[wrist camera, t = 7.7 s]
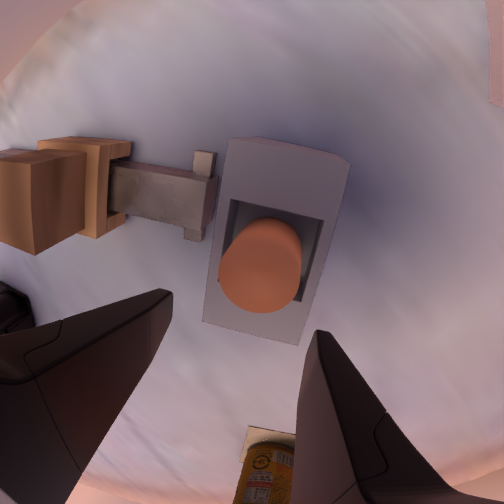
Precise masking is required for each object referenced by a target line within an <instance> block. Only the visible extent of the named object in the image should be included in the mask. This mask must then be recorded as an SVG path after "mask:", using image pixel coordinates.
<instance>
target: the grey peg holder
mask: <svg viewBox="0 0 504 504" xmlns="http://www.w3.org/2000/svg"><path fill="white" fill-rule="evenodd" d="M350 166H351V165H350V164H349V163H348V162H346V161H345V160H344V159H342V158H341V157H340V156H338V155H337V154H334V153H330V152H326V151H322V150H318V149H313V148H309V147H305V146H300V145H296V144H291V143H287V142H282V141H277V140H272V139H267V138H262V137H241V138H229V140H228V146H227V151H226V157H225V163H224V169H223V175H222V181H221V188H220V194H219V200H218V207H217V214H216V220H215V227H214V234H213V241H212V248H211V255H210V262H209V270H208V278H207V285H206V293H205V301H204V309H203V318H202V321H203V322H207V323H210V324H214V325H217V326H221V327H225V328H228V329H232V330H236V331H240V332H243V333H247V334H251V335H255V336H259V337H263V338H267V339H271V340H275V341H280V342H284V343H288V344H292V345H297V346H298V344H299V341H300V338H301V335H302V332H303V329H304V326H305V323H306V320H307V317H308V314H309V311H310V308H311V305H312V302H313V299H314V296H315V293H316V289H317V286H318V283H319V280H320V276H321V273H322V270H323V267H324V263H325V260H326V256H327V253H328V249H329V246H330V243H331V239H332V235H333V232H334V228H335V225H336V221H337V217H338V213H339V210H340V206H341V202H342V198H343V194H344V190H345V186H346V182H347V178H348V174H349V170H350ZM266 216H268V217H276V218H280V219H282V220H284V221H286V222H288V223H289V224H290V225H292V226H293V227H294V228H295V230H296V231H297V232H298V234H299V236H300V238H301V241H302V247H303V253H302V263H301V274H300V283H299V288H298V291H297V293H296V295H295V297H294V298H293V300H292V301H291V302H290V303H289V304H288V305H286V306H285V307H283V308H282V309H280V310H277V311H275V312H271V313H254V312H249V311H246V310H244V309H242V308H240V307H238V306H236V305H235V304H234V303H232V302H231V301H230V300H229V299H228V297H227V296H226V295H225V293H224V292H223V290H222V288H221V286H220V283H219V278H218V268H219V264H220V261H221V259H222V257H223V255H224V254H225V252H226V251H227V249H228V248H229V247H230V245H231V244H232V242H233V241H234V240H235V238H236V237H237V235H238V234H239V233H240V231H241V230H242V229H243V227H244V226H245V225H246V224H247V223H249V222H250V221H252V220H254V219H256V218H260V217H266Z"/></svg>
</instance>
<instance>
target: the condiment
mask: <svg viewBox="0 0 504 504" xmlns="http://www.w3.org/2000/svg"><path fill="white" fill-rule="evenodd" d="M295 437H296V435H292V434H287V433H281V432H279V431H269V430H265V429H259V428H254V427H250V426H249V428H248V432H247V436H246V439H245V443H244V447H243V451H242V454H241V458H240V462H241V463H244V464H243V468H242V471H241V475H240V479H239V481H238V486H237V490H236V494H235V497H234V500H233V504H290V501H291V490H292V478H293V466H294V452H295ZM265 439H267V440H265ZM263 440H265V441H263Z"/></svg>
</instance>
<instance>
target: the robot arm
mask: <svg viewBox="0 0 504 504" xmlns="http://www.w3.org/2000/svg"><path fill="white" fill-rule="evenodd" d="M172 312H173V293H172V292H171V291H168V290H165V289H161V288H159V289H155V290H152V291H149V292H146V293H143V294H140V295H137V296H134V297H130V298H127V299H124V300H121V301H118V302H115V303H112V304H109V305H105V306H102V307H99V308H96V309H93V310H90V311H87V312H83V313H80V314H77V315H74V316H71V317H68V318H65V319H63V320H58V321H55V322H52V323H49V324H45V325H42V326H38V327H35V325H34V321H33V316H32V312H31V308H30V303H29V299H28V297H27V296H26V295H24V294H22V293H20V292H18V291H17V290H15V289H13V288H11V287H9V286H7V285H6V284H4V283H2V282H0V504H65V502H66V501H67V499H68V497H69V496H70V494H71V492H72V490H73V489H74V487H75V485H76V484H77V482H78V480H79V479H80V477H81V475H82V473H83V472H84V470H85V468H86V467H87V465H88V463H89V462H90V460H91V458H92V457H93V455H94V453H95V452H96V450H97V449H98V447H99V445H100V444H101V442H102V440H103V439H104V437H105V435H106V434H107V432H108V431H109V429H110V427H111V426H112V424H113V423H114V421H115V419H116V418H117V416H118V414H119V413H120V411H121V410H122V408H123V406H124V405H125V403H126V402H127V400H128V398H129V397H130V395H131V394H132V392H133V391H134V389H135V387H136V386H137V384H138V383H139V381H140V380H141V378H142V376H143V375H144V373H145V372H146V370H147V369H148V367H149V365H150V364H151V362H152V360H153V358H154V356H155V354H156V352H157V350H158V347H159V345H160V343H161V341H162V339H163V337H164V335H165V333H166V331H167V329H168V327H169V325H170V322H171V319H172ZM290 504H504V502H502V501H496V500H491V499H486V498H480V497H476V496H472V495H467V494H464V493H461V492H459V491H457V490H455V489H454V488H452V487H451V486H450V485H448V484H447V483H446V482H445V481H444V480H443V479H442V478H441V476H440V475H439V474H438V473H437V472H436V471H435V470H434V469H433V467H432V466H431V465H430V464H429V463H428V462H427V461H426V459H425V458H424V457H423V456H422V455H421V454H420V453H419V452H418V450H417V449H416V448H415V447H414V446H413V444H412V443H411V442H410V441H409V440H408V439H407V437H406V436H405V435H404V434H403V432H402V431H401V430H400V428H399V427H398V426H397V424H396V423H395V422H394V420H393V419H392V417H391V416H390V414H389V413H388V412H387V413H386V409H385V408H384V406H383V405H382V403H381V402H380V401H379V399H378V398H377V396H376V395H375V394H374V392H373V391H372V389H371V388H370V387H369V385H368V384H367V382H366V381H365V380H364V378H363V377H362V375H361V374H360V373H359V371H358V370H357V369H356V367H355V366H354V364H353V363H352V362H351V360H350V359H349V357H348V356H347V355H346V353H345V352H344V351H343V349H342V348H341V346H340V345H339V344H338V342H337V341H336V340H335V338H334V337H333V335H332V334H331V333H330V332H327V331H323V330H316V331H315V332H314V335H313V337H312V340H311V343H310V345H309V348H308V351H307V354H306V358H305V363H304V369H303V375H302V381H301V386H300V392H299V398H298V405H297V420H296V437H295V452H294V466H293V478H292V490H291V501H290Z"/></svg>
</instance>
